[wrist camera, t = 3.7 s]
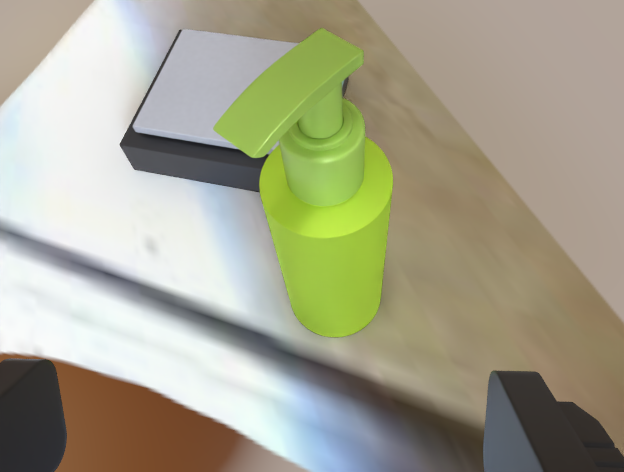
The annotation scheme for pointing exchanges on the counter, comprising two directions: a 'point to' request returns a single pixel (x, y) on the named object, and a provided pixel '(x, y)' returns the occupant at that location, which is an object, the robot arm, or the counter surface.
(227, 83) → the kitchen scale
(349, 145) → the soap dispenser
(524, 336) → the counter surface
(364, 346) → the counter surface
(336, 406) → the counter surface
